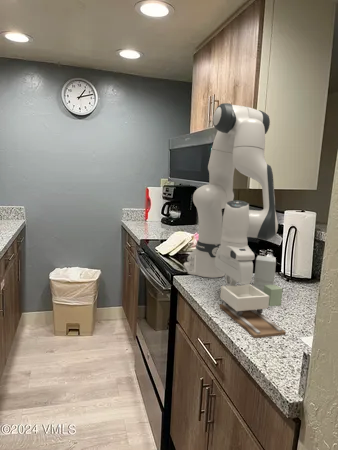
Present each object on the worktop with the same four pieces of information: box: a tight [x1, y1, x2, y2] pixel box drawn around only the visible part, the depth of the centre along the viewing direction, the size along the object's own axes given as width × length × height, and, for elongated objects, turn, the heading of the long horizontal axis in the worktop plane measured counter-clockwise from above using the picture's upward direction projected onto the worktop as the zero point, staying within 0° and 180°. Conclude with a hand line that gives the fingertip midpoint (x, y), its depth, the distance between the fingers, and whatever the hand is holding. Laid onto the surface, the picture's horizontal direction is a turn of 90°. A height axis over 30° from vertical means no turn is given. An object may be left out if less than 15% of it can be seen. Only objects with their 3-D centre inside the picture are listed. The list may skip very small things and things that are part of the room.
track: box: [219, 302, 287, 339], centre depth 107 cm, size 22×10×1 cm, turn 18°
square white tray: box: [219, 283, 269, 315], centre depth 111 cm, size 11×11×6 cm
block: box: [263, 284, 284, 307], centre depth 121 cm, size 4×4×6 cm
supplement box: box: [253, 255, 277, 292], centre depth 135 cm, size 7×7×13 cm
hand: (230, 288), depth 120 cm, fingers closed
